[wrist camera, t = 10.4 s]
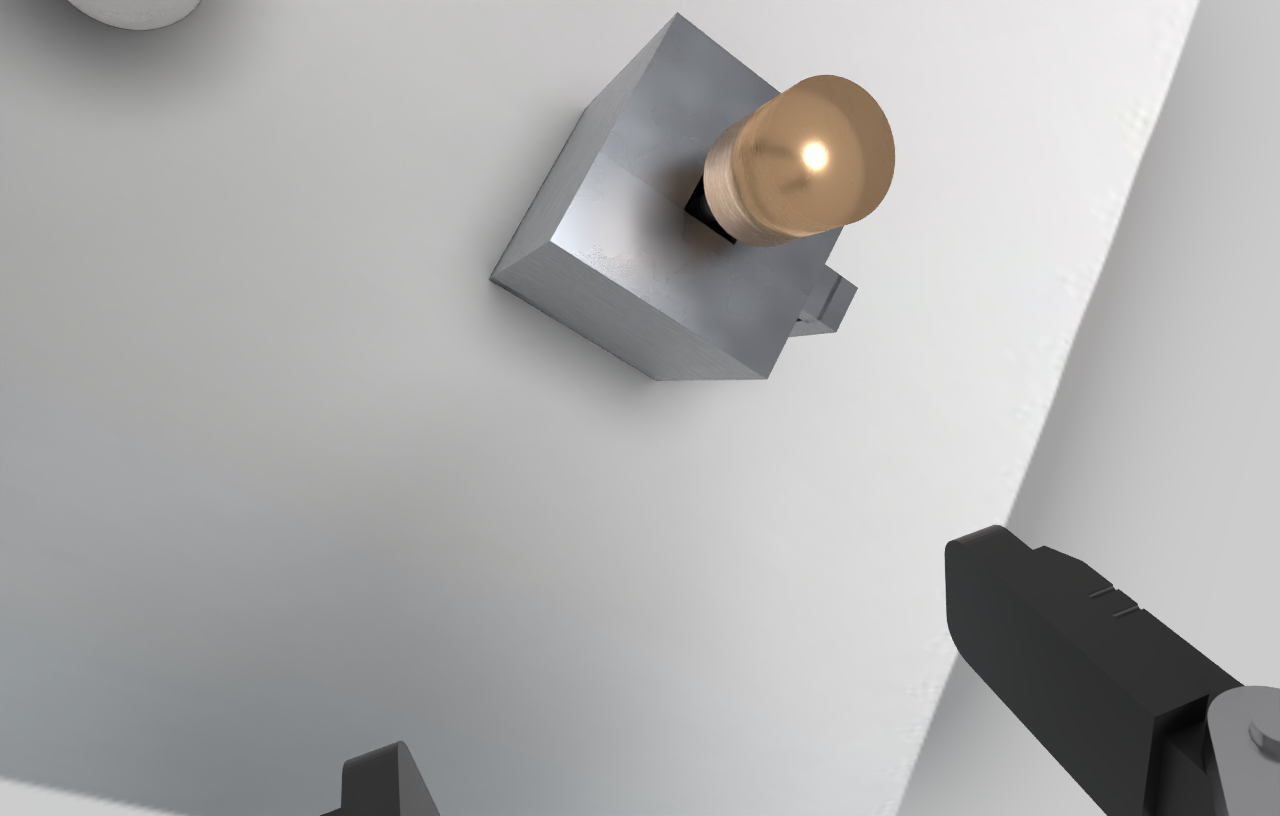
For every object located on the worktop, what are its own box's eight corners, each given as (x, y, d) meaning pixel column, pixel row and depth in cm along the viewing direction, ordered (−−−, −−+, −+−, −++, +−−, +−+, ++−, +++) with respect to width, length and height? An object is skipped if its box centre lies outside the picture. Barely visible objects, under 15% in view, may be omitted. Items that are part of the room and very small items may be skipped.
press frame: (488, 279, 37) (549, 240, 27) (585, 108, 38) (677, 12, 28) (698, 406, 41) (820, 413, 31) (780, 246, 42) (921, 204, 32)
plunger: (529, 266, 36) (670, 186, 21) (606, 128, 37) (790, -38, 22) (663, 349, 38) (873, 328, 23) (733, 217, 39) (974, 119, 24)
